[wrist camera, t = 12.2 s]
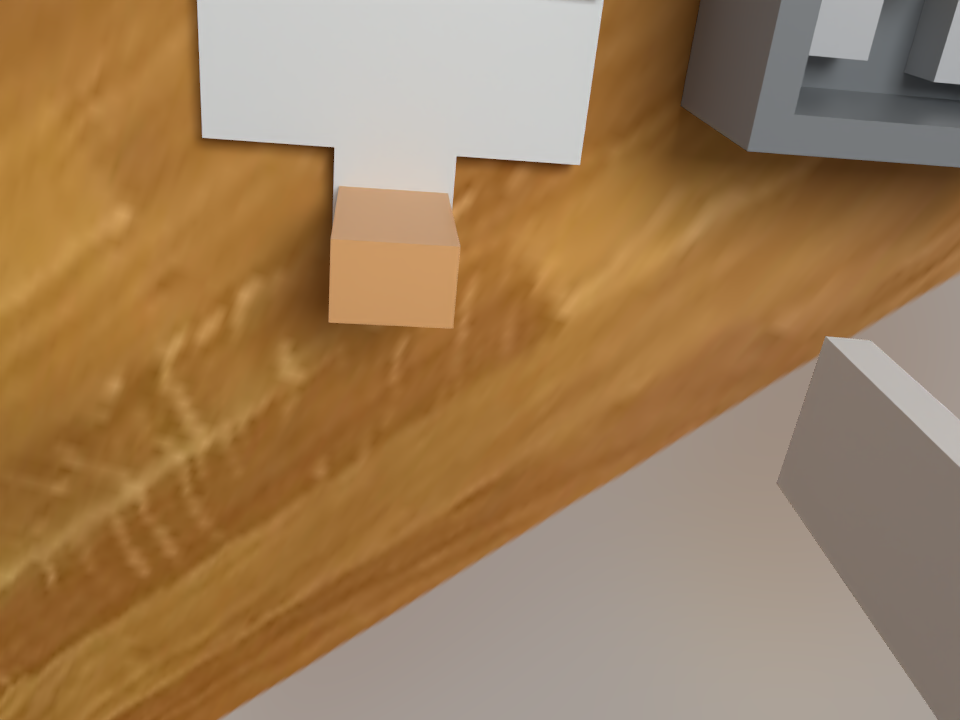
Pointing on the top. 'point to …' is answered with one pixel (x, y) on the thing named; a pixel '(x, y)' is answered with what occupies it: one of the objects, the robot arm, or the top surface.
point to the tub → (830, 77)
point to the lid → (399, 118)
